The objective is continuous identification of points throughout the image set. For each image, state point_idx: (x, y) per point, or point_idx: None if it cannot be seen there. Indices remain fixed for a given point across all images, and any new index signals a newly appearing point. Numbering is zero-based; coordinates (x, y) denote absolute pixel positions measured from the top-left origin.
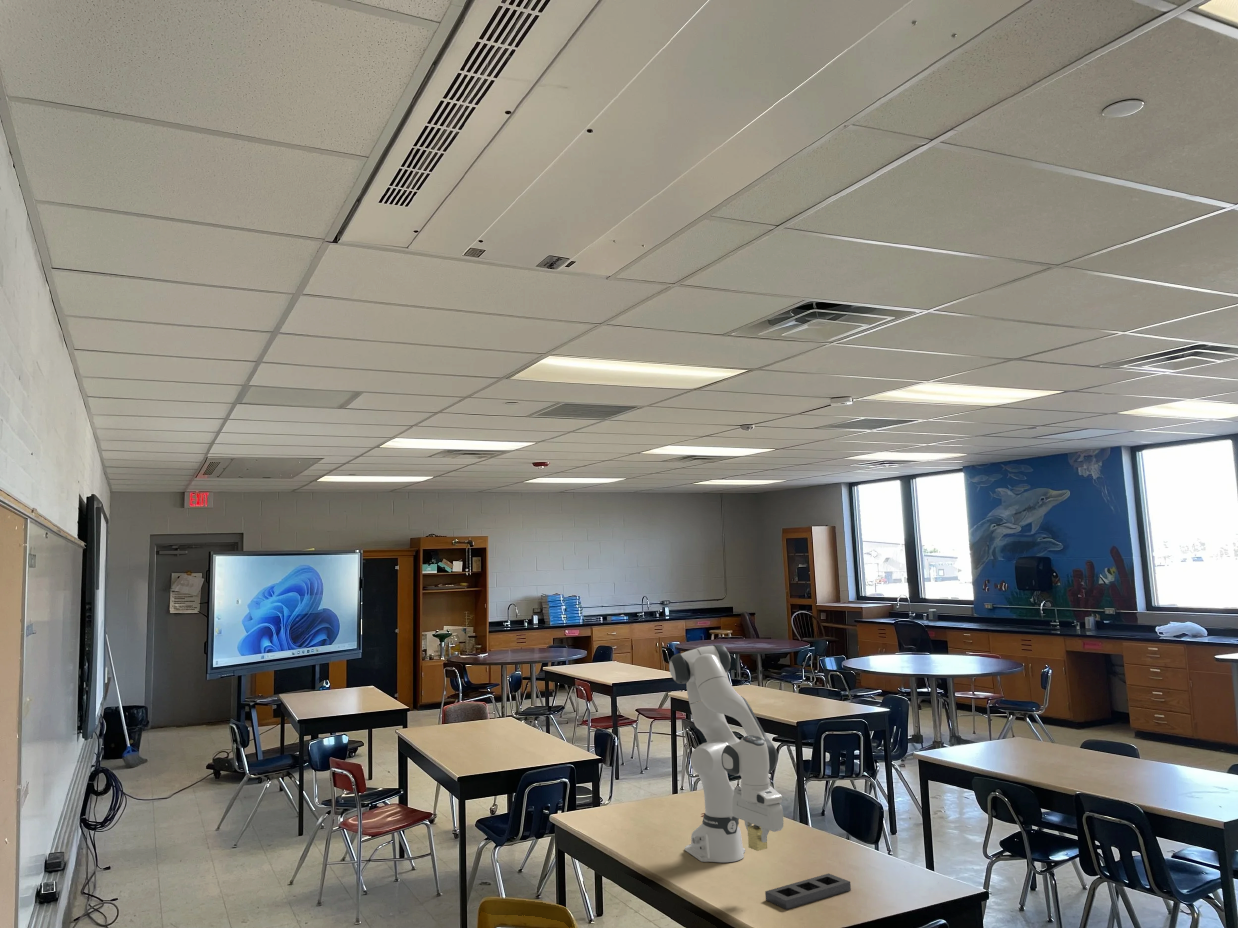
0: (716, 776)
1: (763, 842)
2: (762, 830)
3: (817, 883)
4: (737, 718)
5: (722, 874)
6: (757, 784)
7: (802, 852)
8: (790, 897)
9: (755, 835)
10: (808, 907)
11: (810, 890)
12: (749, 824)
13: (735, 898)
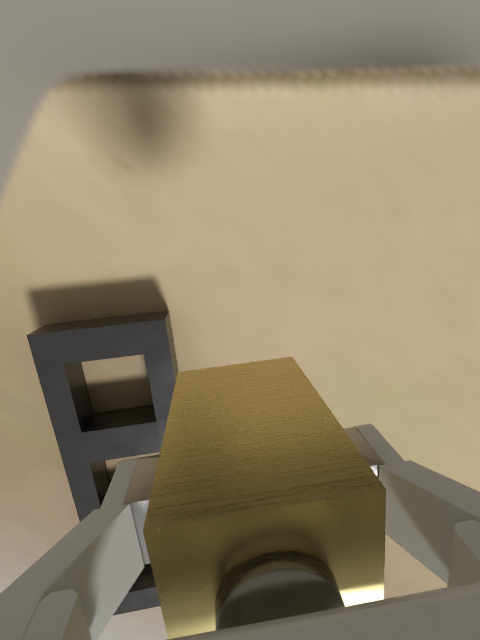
0: None
1: (126, 461)
2: (45, 597)
3: None
4: None
5: (469, 317)
6: None
7: None
8: (53, 369)
9: (187, 452)
10: (40, 406)
11: (89, 471)
12: (448, 557)
13: (248, 220)
